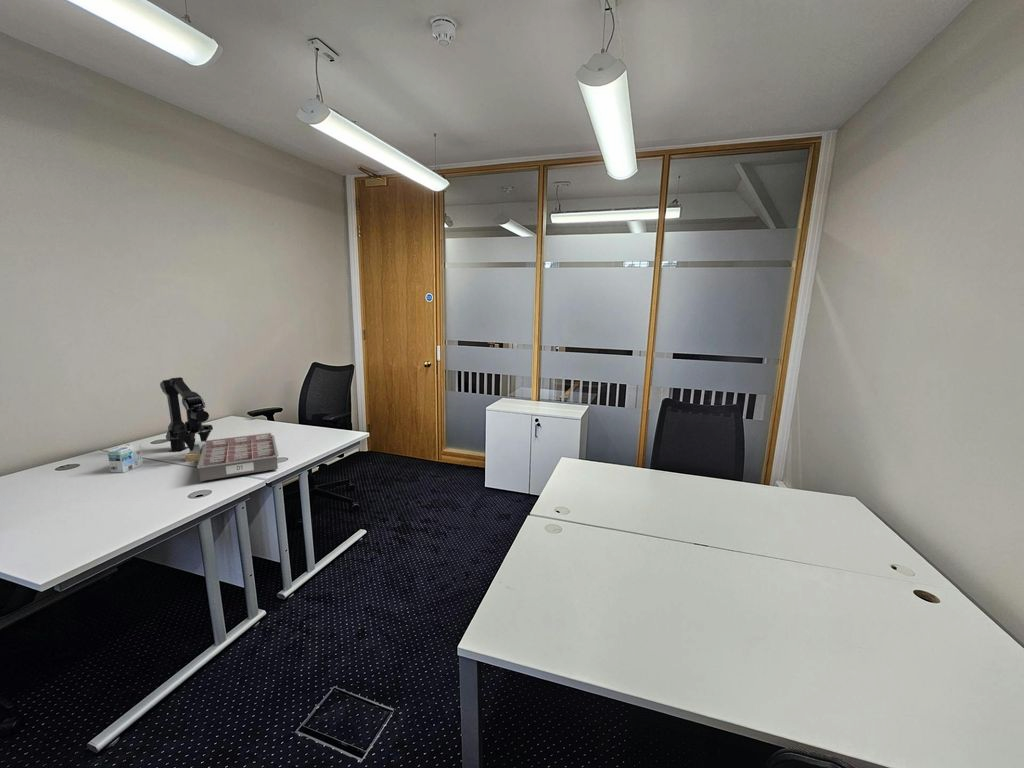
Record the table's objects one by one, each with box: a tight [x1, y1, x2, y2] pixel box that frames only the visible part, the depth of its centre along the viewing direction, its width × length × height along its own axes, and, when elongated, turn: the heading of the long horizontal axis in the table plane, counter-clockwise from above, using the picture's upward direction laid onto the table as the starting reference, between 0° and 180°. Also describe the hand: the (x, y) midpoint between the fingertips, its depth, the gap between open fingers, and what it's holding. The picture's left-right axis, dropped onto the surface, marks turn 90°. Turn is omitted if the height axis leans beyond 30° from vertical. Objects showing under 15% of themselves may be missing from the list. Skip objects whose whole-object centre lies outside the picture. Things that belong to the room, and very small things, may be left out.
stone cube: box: [188, 440, 206, 454], centre depth 216 cm, size 5×5×5 cm
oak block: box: [184, 452, 201, 463], centre depth 217 cm, size 8×8×4 cm
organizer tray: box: [196, 432, 279, 482], centre depth 210 cm, size 32×40×10 cm
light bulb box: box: [107, 443, 144, 474], centre depth 201 cm, size 11×7×11 cm, turn 179°
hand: (197, 447), depth 216 cm, fingers open, 9 cm apart
